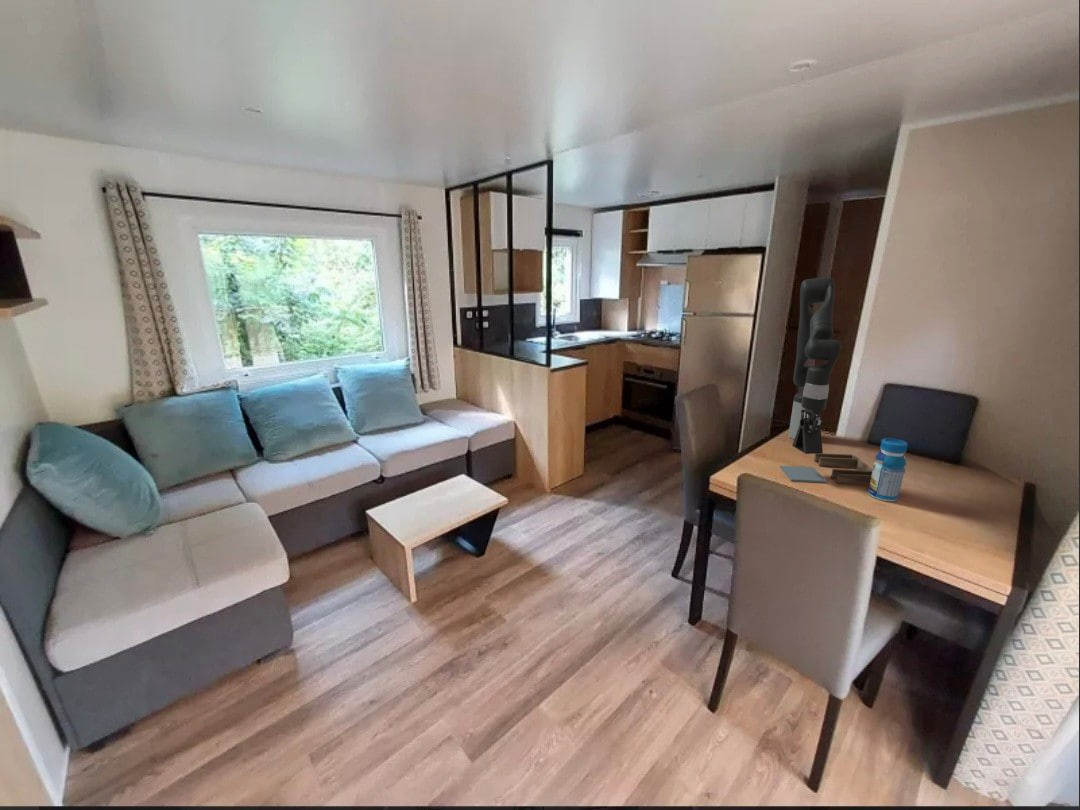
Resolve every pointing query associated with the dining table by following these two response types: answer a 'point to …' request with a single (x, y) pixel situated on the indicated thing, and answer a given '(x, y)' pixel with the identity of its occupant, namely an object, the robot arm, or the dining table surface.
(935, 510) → the dining table surface
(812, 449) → the phone stand
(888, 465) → the blue pill bottle
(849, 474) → the walnut rack
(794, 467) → the slate mat
